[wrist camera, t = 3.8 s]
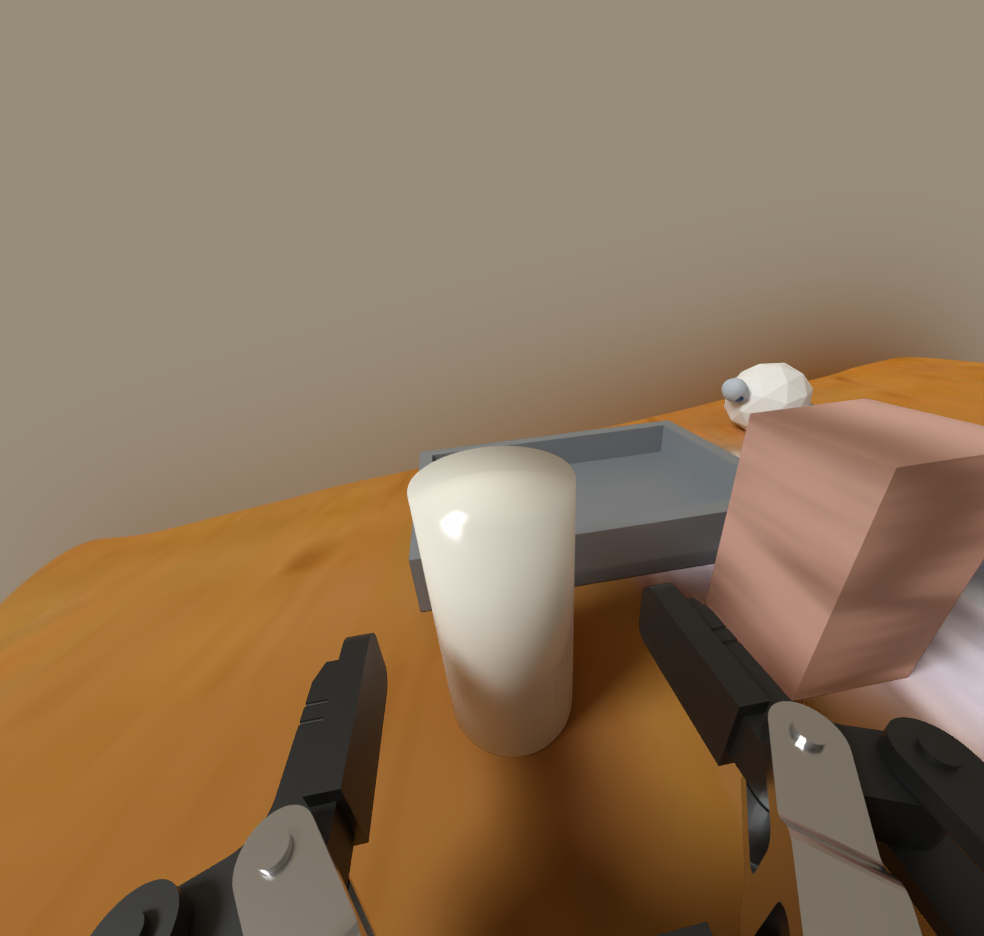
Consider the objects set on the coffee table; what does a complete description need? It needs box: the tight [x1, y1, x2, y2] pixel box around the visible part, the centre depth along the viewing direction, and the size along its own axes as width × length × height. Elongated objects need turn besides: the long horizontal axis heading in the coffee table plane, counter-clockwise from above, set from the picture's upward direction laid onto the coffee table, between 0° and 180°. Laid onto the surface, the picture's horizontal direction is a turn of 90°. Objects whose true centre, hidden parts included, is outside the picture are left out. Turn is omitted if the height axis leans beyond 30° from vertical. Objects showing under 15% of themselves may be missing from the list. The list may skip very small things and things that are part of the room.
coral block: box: [706, 399, 984, 701], centre depth 14 cm, size 5×5×10 cm
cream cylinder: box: [407, 446, 576, 757], centre depth 13 cm, size 5×5×10 cm
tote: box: [409, 420, 740, 612], centre depth 26 cm, size 22×14×4 cm, turn 98°
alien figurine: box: [722, 363, 814, 430], centre depth 36 cm, size 7×7×12 cm
